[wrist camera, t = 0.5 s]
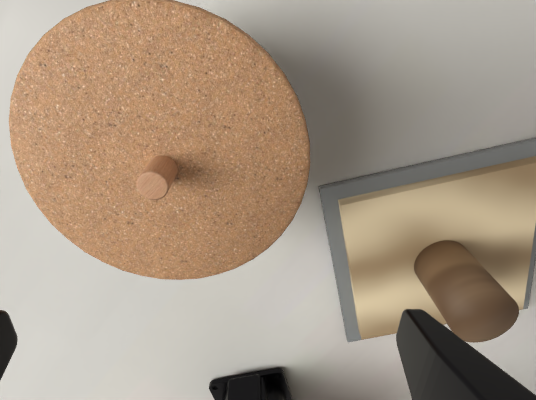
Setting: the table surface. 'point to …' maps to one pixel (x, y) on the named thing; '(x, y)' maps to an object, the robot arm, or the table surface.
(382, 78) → the table surface
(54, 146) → the lidded jar
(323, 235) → the table surface
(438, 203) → the lid
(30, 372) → the table surface
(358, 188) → the mat
